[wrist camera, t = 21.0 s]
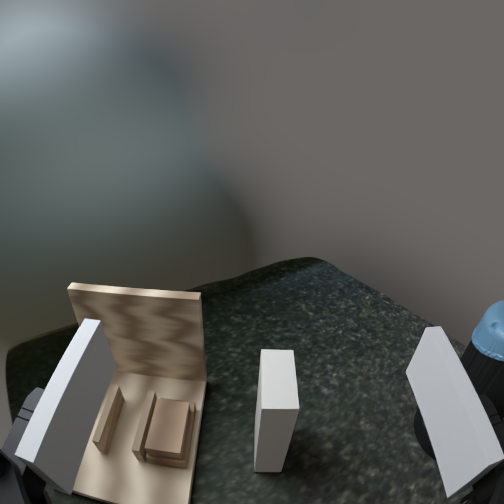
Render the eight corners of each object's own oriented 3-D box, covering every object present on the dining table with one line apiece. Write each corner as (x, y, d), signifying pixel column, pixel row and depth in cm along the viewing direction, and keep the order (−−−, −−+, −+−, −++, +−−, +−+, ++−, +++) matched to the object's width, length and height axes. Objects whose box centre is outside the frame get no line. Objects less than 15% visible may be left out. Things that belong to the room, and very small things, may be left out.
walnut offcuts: (196, 409, 42) (193, 393, 40) (187, 468, 34) (182, 456, 32) (162, 405, 42) (158, 389, 40) (149, 463, 34) (142, 450, 32)
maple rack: (207, 380, 49) (200, 292, 41) (187, 519, 28) (160, 468, 20) (99, 366, 49) (71, 282, 41) (52, 484, 28) (-17, 413, 20)
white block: (279, 424, 42) (293, 350, 35) (280, 472, 35) (299, 408, 28) (254, 424, 42) (261, 349, 35) (254, 471, 35) (261, 408, 28)
